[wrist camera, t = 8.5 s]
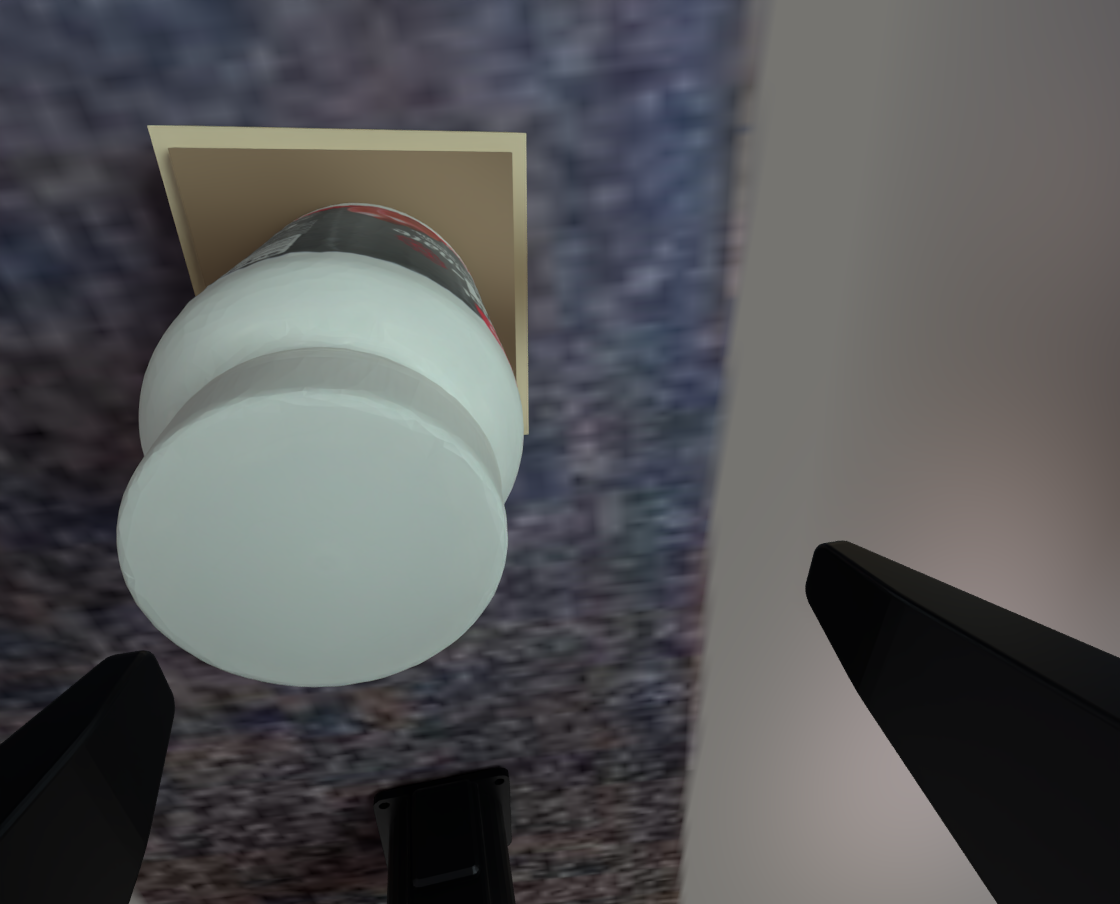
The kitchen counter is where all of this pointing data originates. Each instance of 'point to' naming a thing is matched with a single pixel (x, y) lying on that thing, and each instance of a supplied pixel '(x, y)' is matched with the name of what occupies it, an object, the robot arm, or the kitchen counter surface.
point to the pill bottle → (325, 456)
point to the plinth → (356, 199)
